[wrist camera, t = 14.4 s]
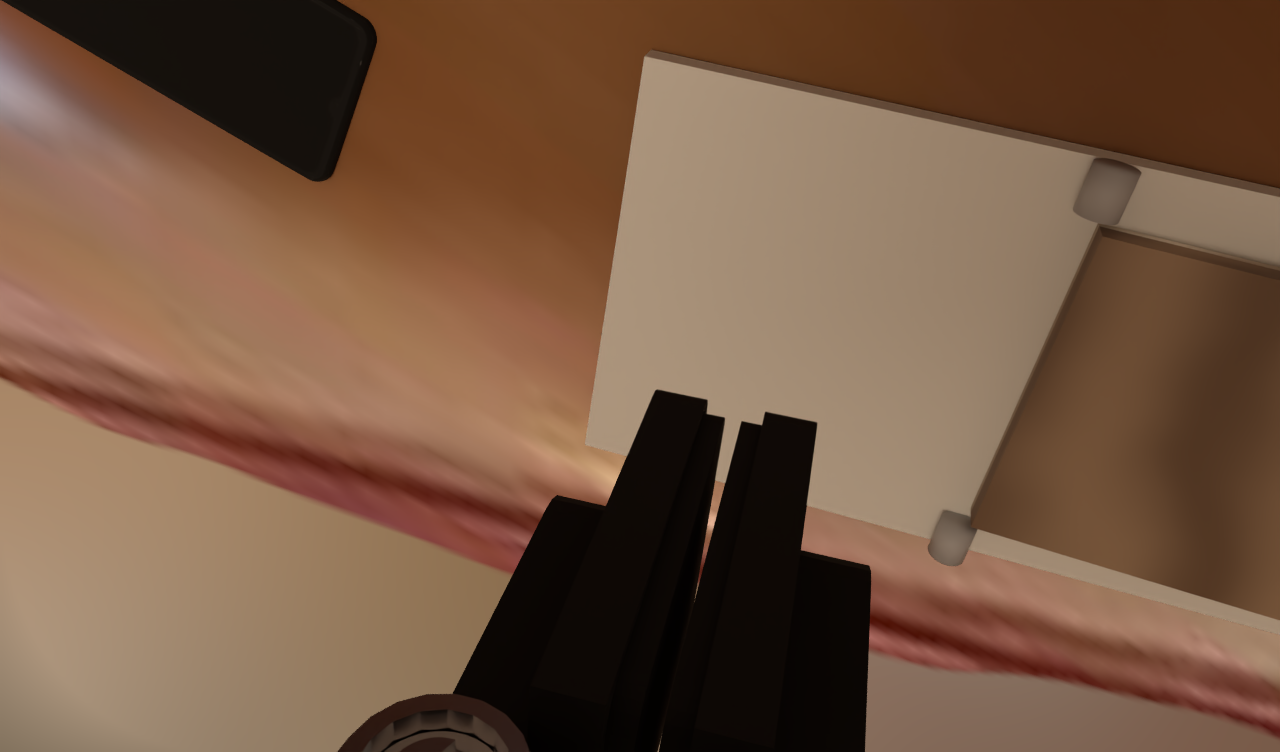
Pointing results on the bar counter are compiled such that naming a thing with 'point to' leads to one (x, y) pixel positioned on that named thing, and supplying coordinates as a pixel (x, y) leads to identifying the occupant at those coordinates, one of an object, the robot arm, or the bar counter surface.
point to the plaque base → (873, 285)
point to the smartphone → (236, 64)
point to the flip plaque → (1153, 424)
